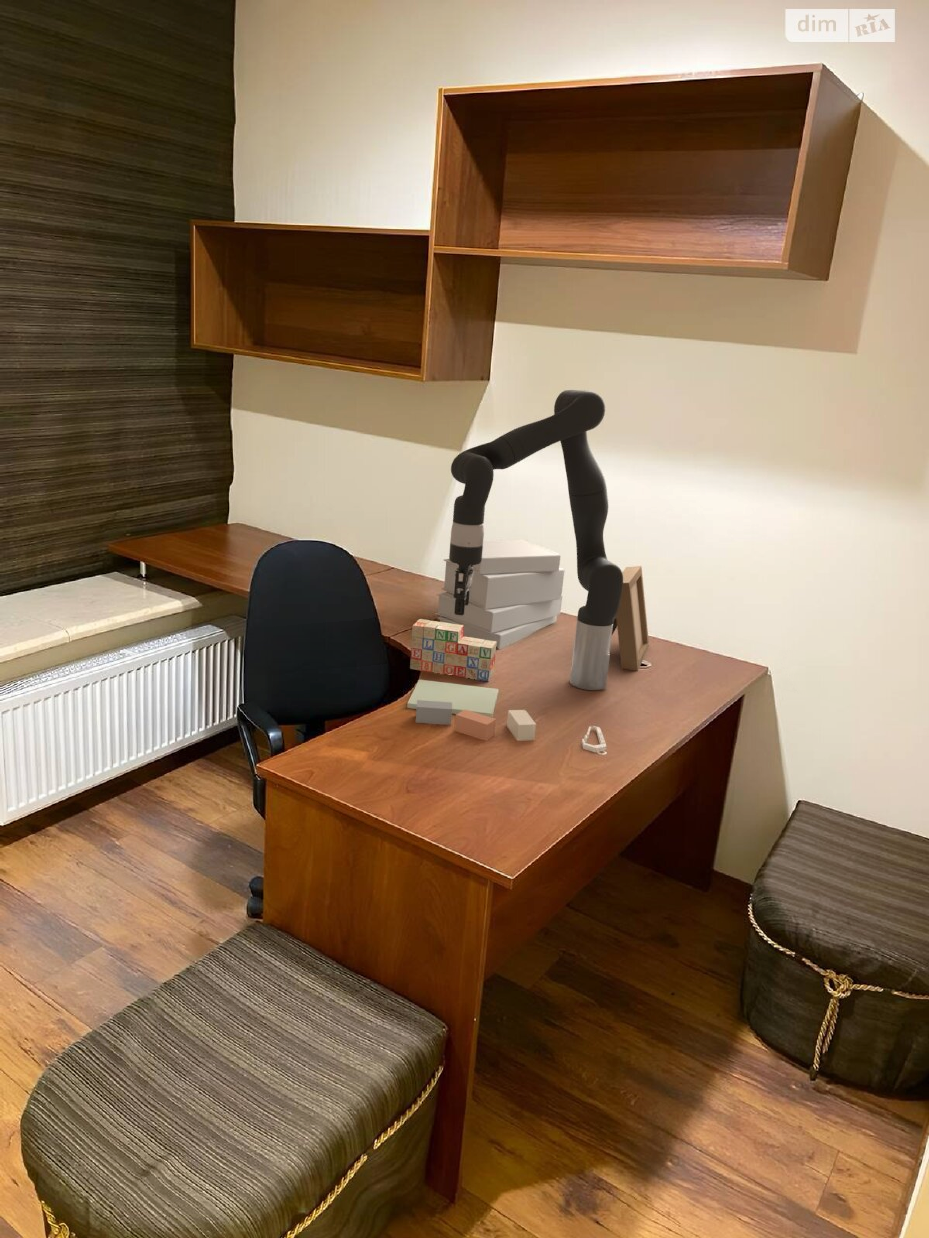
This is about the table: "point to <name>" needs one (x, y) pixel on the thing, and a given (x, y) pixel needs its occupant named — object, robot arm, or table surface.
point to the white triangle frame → (595, 747)
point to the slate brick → (433, 712)
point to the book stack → (507, 592)
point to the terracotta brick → (475, 724)
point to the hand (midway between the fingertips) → (461, 609)
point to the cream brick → (521, 725)
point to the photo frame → (632, 620)
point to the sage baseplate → (456, 696)
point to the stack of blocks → (451, 651)
